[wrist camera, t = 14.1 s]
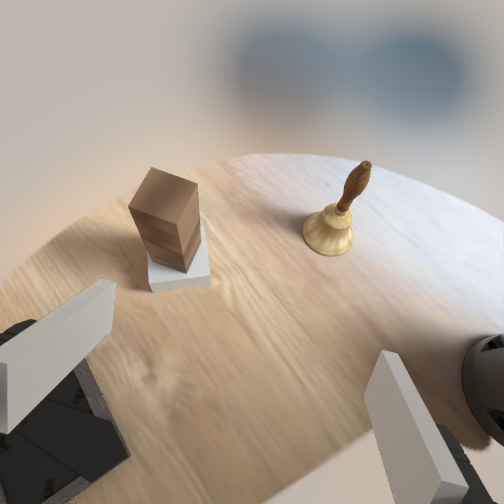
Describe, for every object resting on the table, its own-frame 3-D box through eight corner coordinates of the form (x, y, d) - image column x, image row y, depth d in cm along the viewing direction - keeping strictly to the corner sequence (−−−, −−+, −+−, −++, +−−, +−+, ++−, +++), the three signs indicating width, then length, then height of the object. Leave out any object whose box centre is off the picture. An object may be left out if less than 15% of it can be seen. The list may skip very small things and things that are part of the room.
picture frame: (132, 455, 38) (69, 324, 44) (128, 456, 36) (63, 320, 42) (9, 544, 34) (-42, 386, 40) (-3, 550, 32) (-54, 384, 38)
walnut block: (201, 242, 47) (197, 183, 34) (186, 273, 44) (176, 224, 32) (167, 229, 47) (151, 167, 34) (151, 260, 45) (127, 206, 32)
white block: (204, 238, 52) (203, 224, 48) (210, 286, 48) (210, 275, 45) (150, 243, 50) (146, 230, 47) (153, 293, 47) (148, 283, 43)
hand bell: (291, 227, 54) (319, 157, 40) (328, 204, 57) (366, 131, 43) (326, 266, 51) (368, 206, 37) (363, 239, 54) (415, 174, 40)
